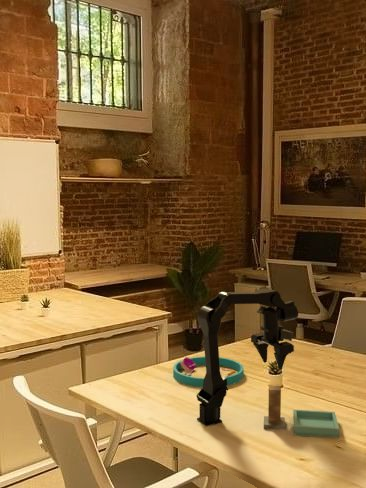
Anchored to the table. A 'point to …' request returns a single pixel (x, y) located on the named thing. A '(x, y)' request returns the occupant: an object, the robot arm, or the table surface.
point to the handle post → (274, 410)
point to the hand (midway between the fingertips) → (272, 365)
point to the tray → (315, 423)
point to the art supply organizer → (190, 364)
